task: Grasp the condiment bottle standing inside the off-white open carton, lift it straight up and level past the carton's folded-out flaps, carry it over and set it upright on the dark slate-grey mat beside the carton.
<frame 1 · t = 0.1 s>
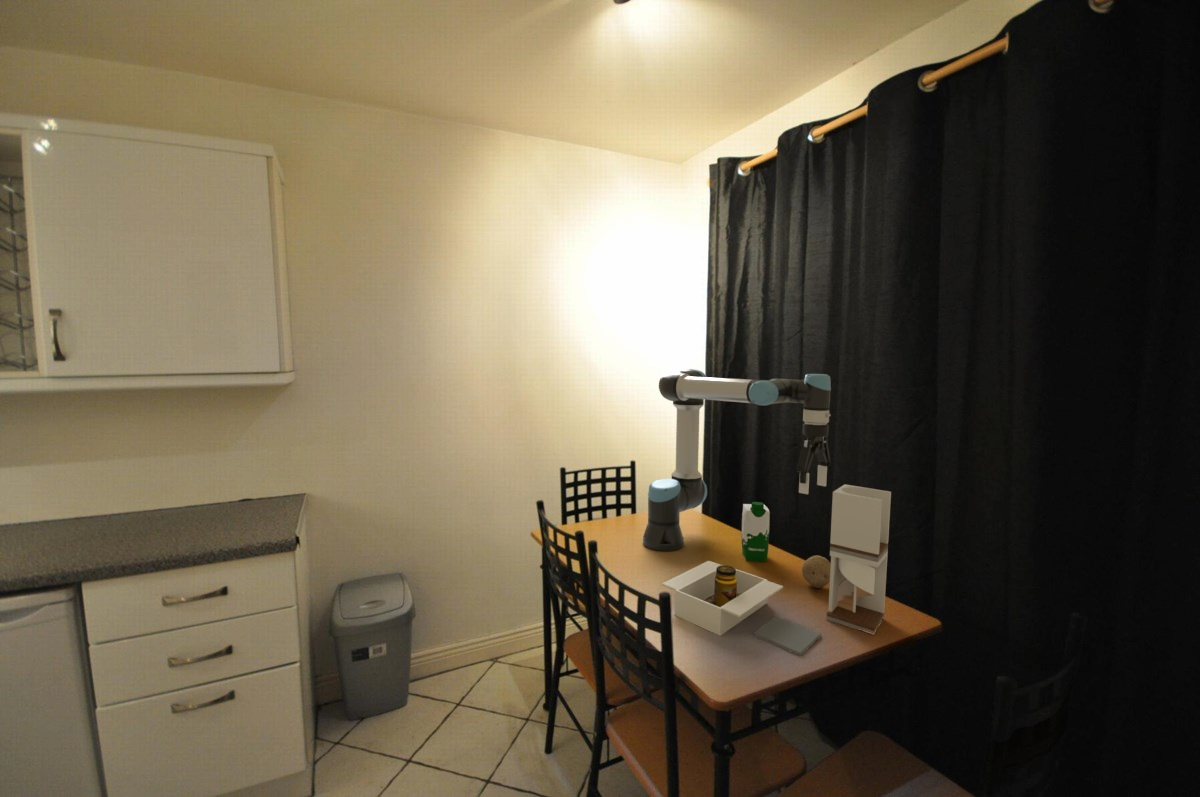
hand: (812, 489, 164), 28 cm above the table, fingers open, 13 cm apart
white cereal dispenser: (855, 620, 138), on the table
milk carton: (754, 558, 180), on the table
condiment: (721, 610, 143), resting in carton
natural sponge: (816, 588, 156), on the table
slate mat: (787, 636, 130), on the table
carton: (721, 609, 143), on the table
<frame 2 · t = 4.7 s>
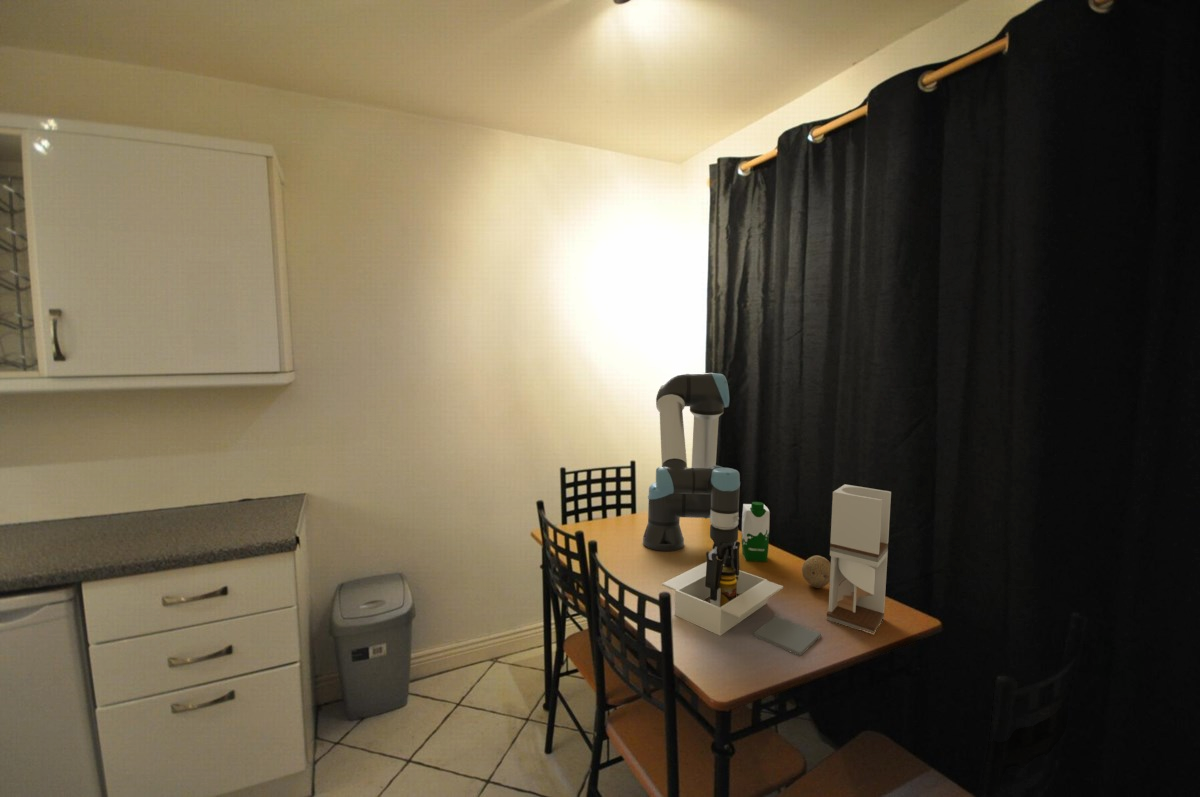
hand: (721, 605, 143), 1 cm above the table, fingers closed on condiment, 6 cm apart
condiment: (721, 610, 143), resting in carton, touching gripper
everything else where it was.
when the fingers open (3 cm above the table, at t = 12.9 s): condiment drops 1 cm, resting on slate mat.
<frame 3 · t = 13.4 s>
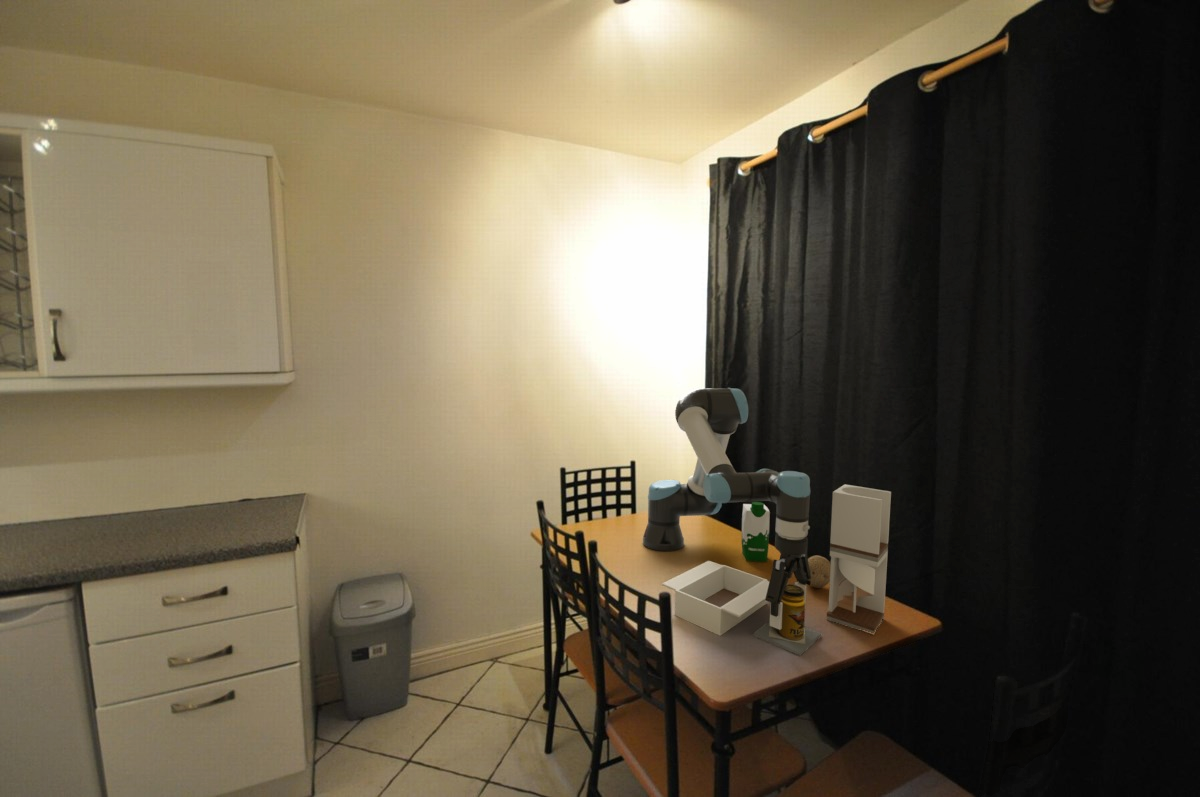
hand: (788, 617, 129), 5 cm above the table, fingers open, 13 cm apart
condiment: (787, 634, 129), point 1 cm above the table, touching slate mat
everything else where it was.
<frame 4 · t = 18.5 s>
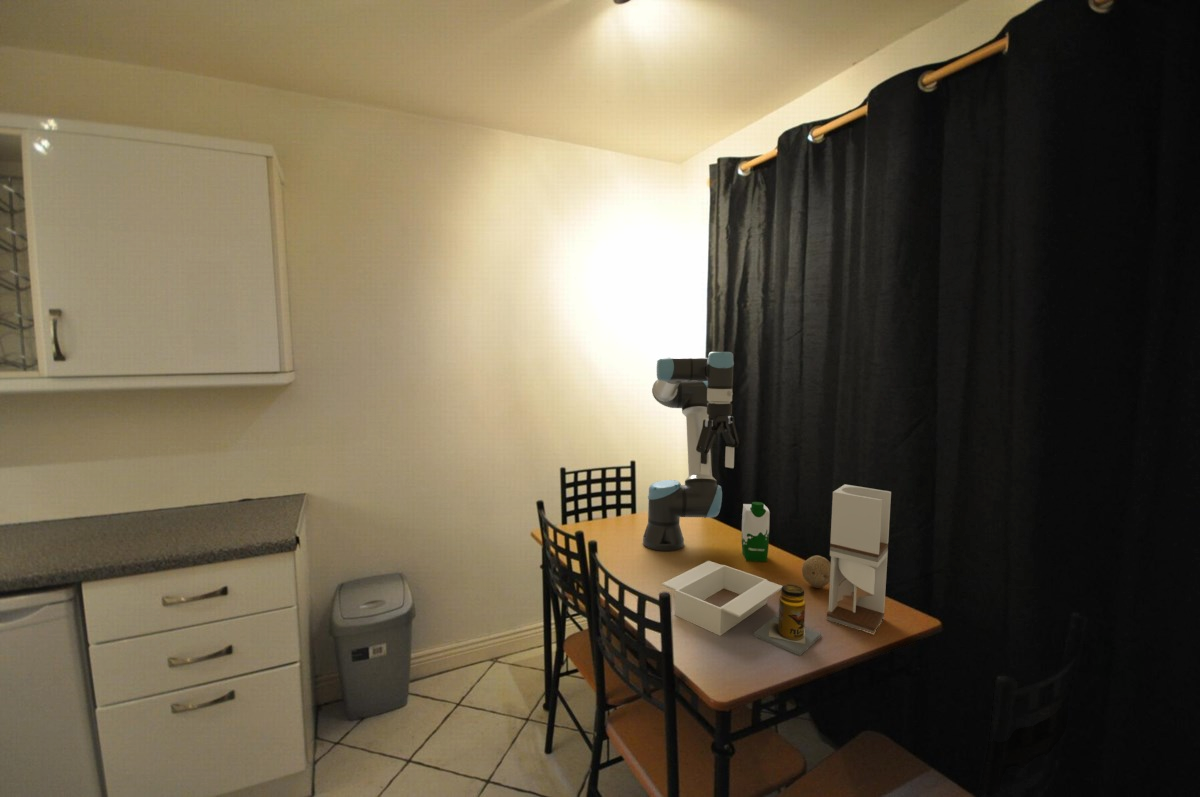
hand: (717, 470, 159), 35 cm above the table, fingers open, 13 cm apart
nothing on the table moved.
at the end: condiment inside the target area on the slate mat (0.1 cm from its centre), point 0.6 cm above the slate mat's base; condiment tilted 0°; the gripper is holding nothing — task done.
